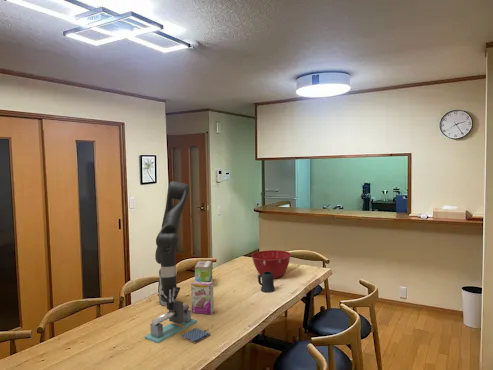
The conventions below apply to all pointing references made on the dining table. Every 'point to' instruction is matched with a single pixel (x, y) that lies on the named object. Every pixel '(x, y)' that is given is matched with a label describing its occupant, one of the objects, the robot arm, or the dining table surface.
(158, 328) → the pipe
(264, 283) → the mug
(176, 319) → the tall grey rectangular prism
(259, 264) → the mixing bowl
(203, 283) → the candy bar box
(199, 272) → the tea box
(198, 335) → the woven mat
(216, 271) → the dining table surface
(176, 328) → the base board
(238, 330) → the dining table surface
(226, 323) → the dining table surface
